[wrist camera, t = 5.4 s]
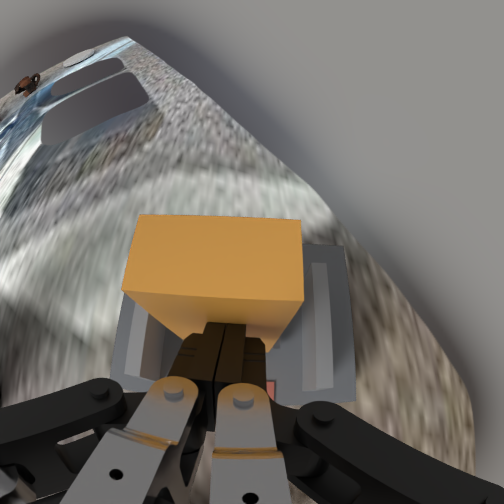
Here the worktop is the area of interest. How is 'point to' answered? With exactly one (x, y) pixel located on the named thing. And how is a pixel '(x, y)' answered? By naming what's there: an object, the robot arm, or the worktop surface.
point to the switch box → (277, 360)
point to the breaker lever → (217, 273)
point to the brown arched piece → (27, 85)
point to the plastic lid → (78, 57)
